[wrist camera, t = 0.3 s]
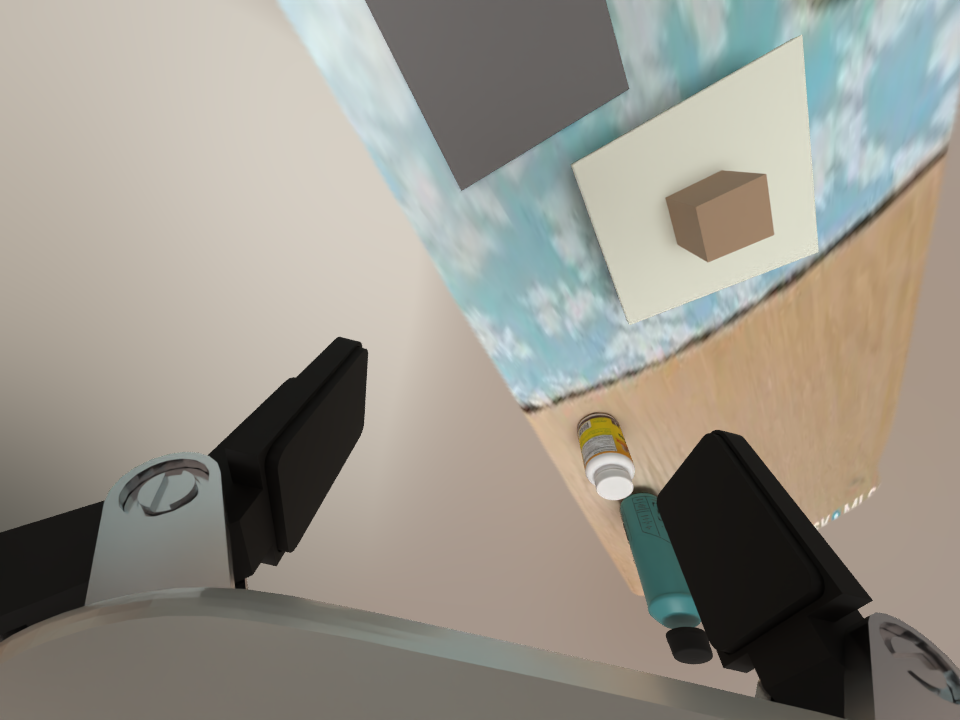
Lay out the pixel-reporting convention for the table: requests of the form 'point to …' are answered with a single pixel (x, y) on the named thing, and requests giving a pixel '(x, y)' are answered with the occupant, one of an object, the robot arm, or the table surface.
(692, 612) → the beverage bottle
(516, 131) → the mat
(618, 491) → the supplement bottle
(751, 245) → the lid
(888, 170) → the table surface
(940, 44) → the table surface
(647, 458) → the table surface
